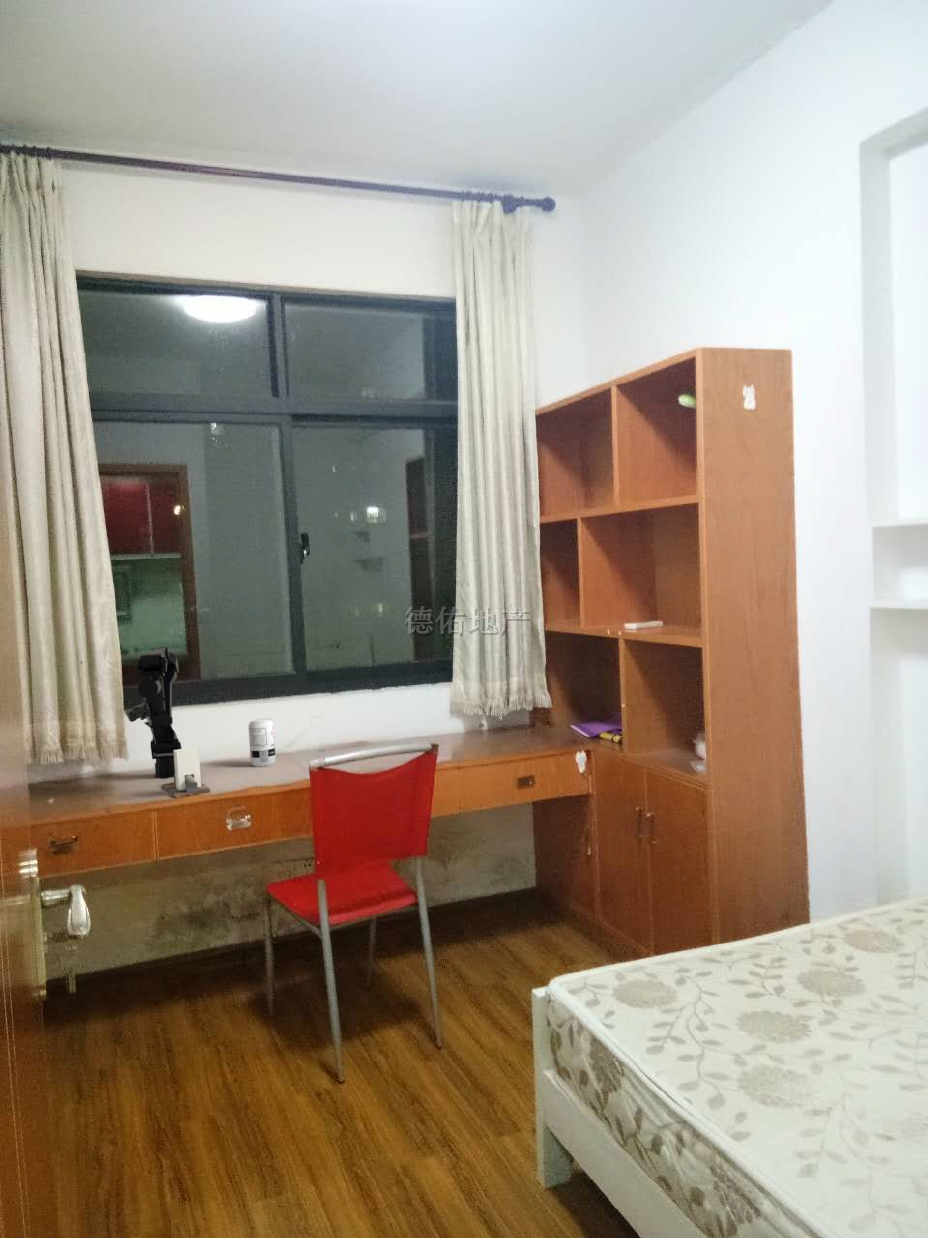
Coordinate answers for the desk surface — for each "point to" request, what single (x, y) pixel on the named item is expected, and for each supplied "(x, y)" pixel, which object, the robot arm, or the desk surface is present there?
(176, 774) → the white upright block
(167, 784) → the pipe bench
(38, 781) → the desk surface
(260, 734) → the supplement can
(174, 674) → the robot arm
